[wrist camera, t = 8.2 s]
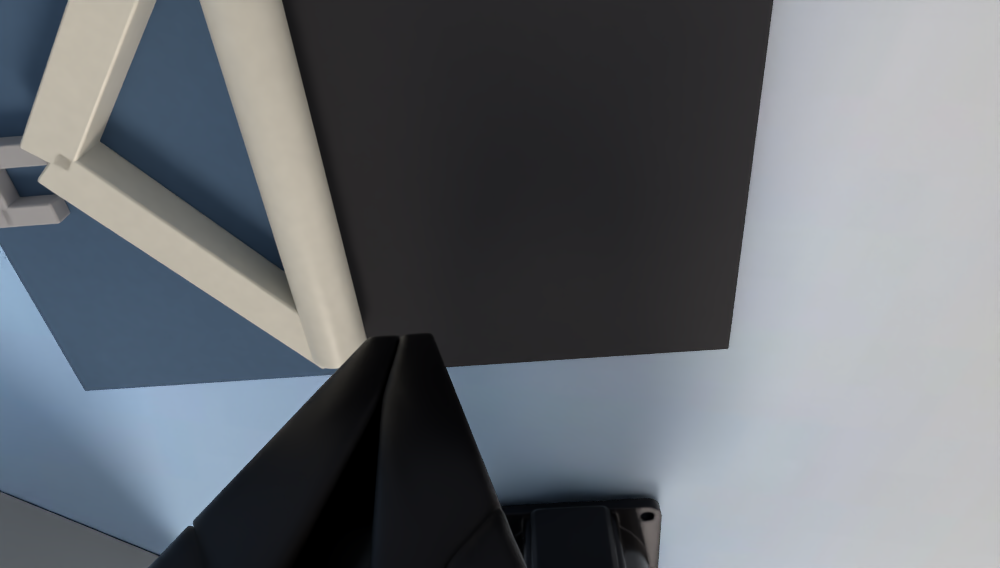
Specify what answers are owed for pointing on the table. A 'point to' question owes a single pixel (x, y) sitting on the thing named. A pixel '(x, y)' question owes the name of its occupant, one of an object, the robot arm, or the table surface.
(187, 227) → the hanger
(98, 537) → the icon cube
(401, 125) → the mat
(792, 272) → the table surface
